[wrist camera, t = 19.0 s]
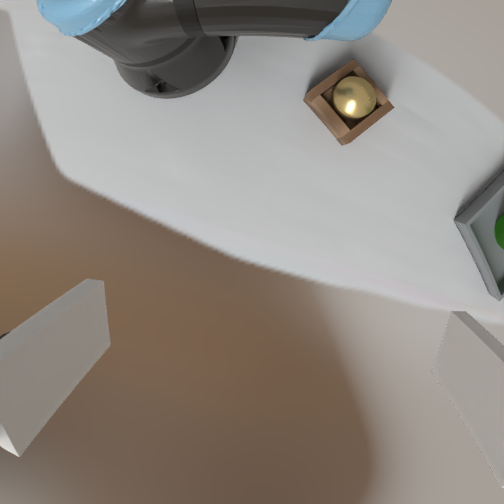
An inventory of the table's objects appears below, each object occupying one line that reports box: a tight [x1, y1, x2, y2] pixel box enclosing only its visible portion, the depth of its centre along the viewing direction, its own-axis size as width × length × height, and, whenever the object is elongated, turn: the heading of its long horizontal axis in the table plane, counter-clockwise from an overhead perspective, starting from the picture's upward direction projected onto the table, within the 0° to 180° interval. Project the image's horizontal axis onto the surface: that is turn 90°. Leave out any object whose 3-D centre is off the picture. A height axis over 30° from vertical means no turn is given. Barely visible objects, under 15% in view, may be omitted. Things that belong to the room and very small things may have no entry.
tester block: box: [303, 59, 394, 145], centre depth 33 cm, size 7×7×4 cm
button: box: [330, 76, 376, 120], centre depth 31 cm, size 4×4×3 cm
